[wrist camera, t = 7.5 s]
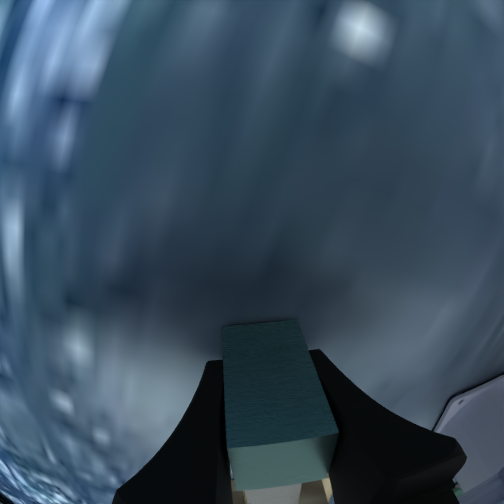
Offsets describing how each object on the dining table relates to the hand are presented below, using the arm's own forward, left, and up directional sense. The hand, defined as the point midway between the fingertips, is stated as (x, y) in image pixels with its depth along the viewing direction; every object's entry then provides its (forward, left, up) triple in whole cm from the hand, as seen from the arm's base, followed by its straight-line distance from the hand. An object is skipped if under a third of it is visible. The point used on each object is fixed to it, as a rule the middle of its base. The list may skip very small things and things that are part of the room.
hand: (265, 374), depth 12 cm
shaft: (0, +11, -2) cm, 11 cm away
